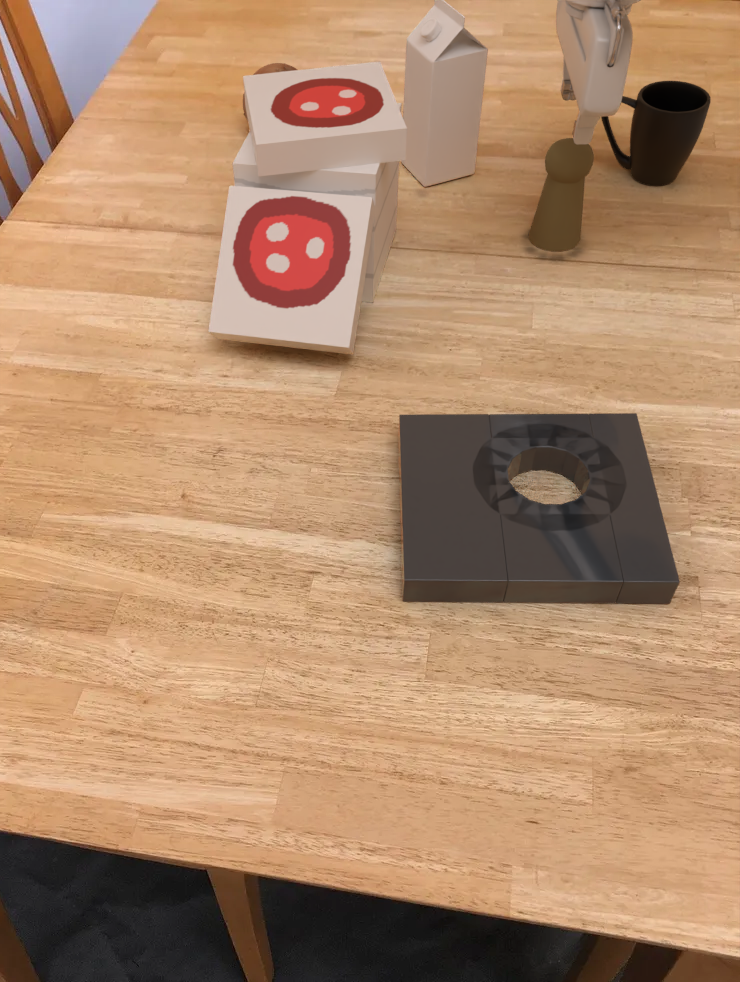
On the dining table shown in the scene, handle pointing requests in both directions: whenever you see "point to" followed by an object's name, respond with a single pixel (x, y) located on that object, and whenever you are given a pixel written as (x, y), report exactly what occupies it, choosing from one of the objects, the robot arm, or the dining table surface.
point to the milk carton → (442, 96)
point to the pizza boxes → (309, 207)
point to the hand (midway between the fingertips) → (574, 118)
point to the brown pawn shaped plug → (562, 196)
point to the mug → (661, 130)
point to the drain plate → (530, 511)
